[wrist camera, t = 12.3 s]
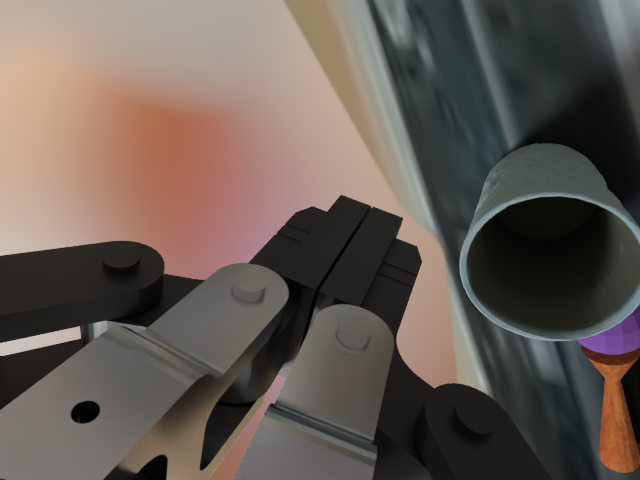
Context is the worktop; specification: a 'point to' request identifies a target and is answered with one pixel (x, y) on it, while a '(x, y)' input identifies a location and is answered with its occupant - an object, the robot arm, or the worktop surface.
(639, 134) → the worktop surface
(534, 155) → the grey green cup
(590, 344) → the kendama
